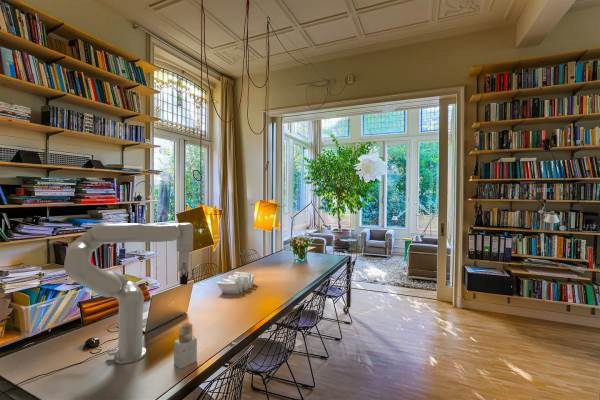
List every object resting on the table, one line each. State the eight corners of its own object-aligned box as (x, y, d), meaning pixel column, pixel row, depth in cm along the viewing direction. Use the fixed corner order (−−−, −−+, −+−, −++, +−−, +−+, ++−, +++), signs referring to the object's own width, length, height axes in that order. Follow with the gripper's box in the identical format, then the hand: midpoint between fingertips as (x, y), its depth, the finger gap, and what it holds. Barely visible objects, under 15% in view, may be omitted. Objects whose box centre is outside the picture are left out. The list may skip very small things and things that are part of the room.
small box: (190, 356, 132) (190, 333, 132) (197, 361, 129) (197, 338, 128) (173, 364, 126) (173, 340, 126) (179, 369, 123) (180, 345, 122)
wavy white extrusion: (232, 297, 206) (232, 283, 205) (214, 293, 213) (214, 279, 212) (258, 284, 237) (259, 271, 237) (242, 281, 244) (242, 268, 244)
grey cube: (178, 343, 124) (178, 329, 123) (179, 337, 129) (179, 323, 129) (191, 341, 125) (192, 327, 125) (192, 335, 131) (192, 322, 130)
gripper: (178, 244, 151) (177, 277, 152) (175, 251, 135) (174, 287, 135) (193, 244, 154) (193, 276, 154) (192, 250, 137) (191, 286, 138)
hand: (184, 281), depth 145 cm, fingers open, 9 cm apart
